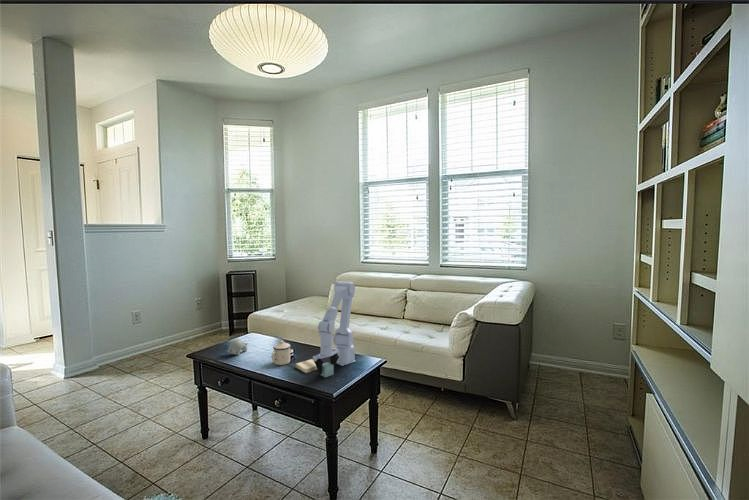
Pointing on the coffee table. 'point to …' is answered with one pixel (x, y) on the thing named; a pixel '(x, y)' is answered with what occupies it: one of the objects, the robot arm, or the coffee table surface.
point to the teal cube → (327, 369)
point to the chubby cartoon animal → (237, 347)
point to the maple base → (306, 366)
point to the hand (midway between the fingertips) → (326, 371)
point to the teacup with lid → (281, 353)
